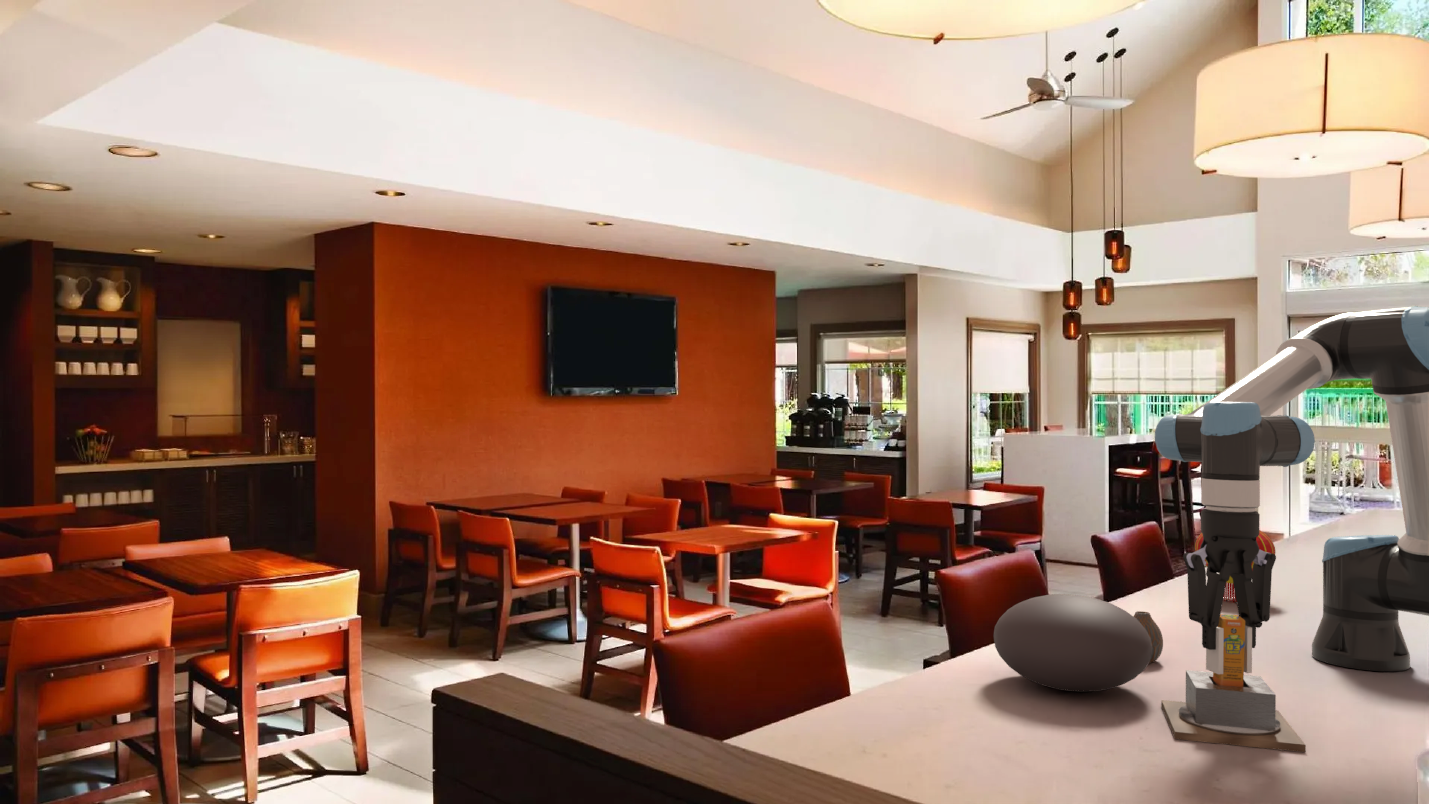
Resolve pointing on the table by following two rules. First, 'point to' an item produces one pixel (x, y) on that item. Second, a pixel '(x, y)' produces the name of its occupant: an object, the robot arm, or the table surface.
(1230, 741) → the walnut board
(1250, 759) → the table surface
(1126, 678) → the smooth stone
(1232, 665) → the supplement box
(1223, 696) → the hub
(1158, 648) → the vase
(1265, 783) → the table surface
